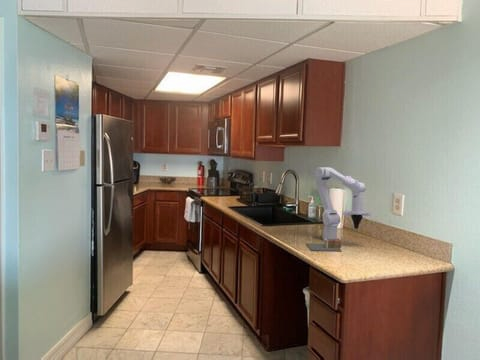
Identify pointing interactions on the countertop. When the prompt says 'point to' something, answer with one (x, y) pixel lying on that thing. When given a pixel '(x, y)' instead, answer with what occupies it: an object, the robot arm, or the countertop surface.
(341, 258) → the countertop surface
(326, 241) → the walnut block
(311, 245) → the rubber mat
